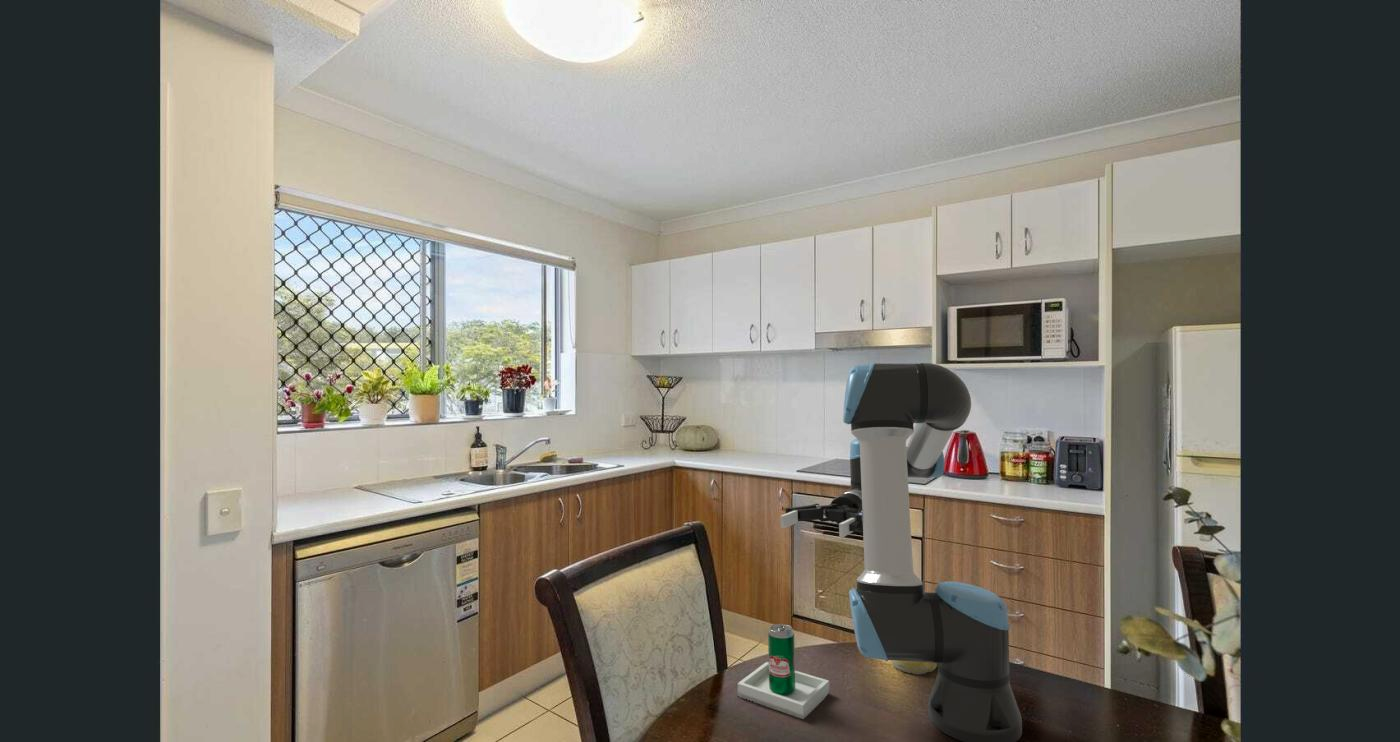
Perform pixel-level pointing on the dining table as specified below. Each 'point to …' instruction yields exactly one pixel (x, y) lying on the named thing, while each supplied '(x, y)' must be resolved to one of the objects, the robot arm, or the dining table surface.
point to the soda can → (781, 659)
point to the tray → (795, 704)
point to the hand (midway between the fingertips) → (810, 526)
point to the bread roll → (914, 666)
